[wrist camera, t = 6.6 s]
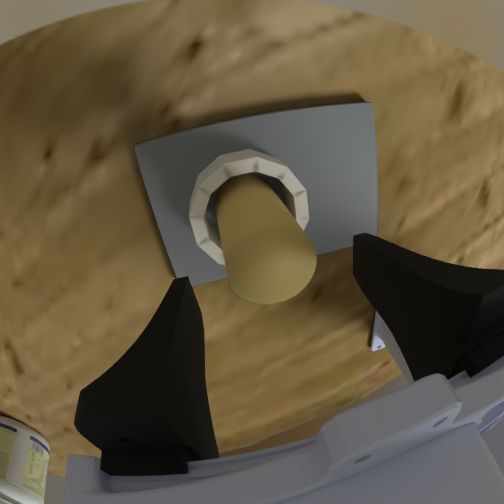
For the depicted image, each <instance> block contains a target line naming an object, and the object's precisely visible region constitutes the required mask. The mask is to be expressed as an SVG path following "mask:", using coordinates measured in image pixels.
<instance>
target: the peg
mask: <svg viewBox="0 0 504 504" xmlns="http://www.w3.org/2000/svg"><path fill="white" fill-rule="evenodd" d="M215 210H216V216H217V221H218V227H219V233H220V239H221V244H222V250H223V255H224V261H225V266H226V272H227V277H228V281H229V284H230V286H231V287H232V289H233V290H234V292H235V293H236V294H237V295H239V296H240V297H241V298H243V299H245V300H247V301H249V302H252V303H256V304H275V303H279V302H283V301H285V300H288V299H290V298H292V297H294V296H295V295H297V294H298V293H299V292H300V291H302V290H303V289H304V288H305V287H306V286H307V284H308V283H309V282H310V280H311V278H312V277H313V274H314V272H315V269H316V264H317V255H316V251H315V248H314V245H313V243H312V242H311V240H310V239H309V238H308V236H307V235H306V233H305V232H304V231H303V229H302V228H301V227H300V225H299V224H298V223H297V221H296V220H295V218H294V217H293V216H292V214H291V213H290V212H289V210H288V209H287V208H286V206H285V205H284V204H283V202H282V201H281V200H280V198H279V197H278V196H277V194H276V193H275V192H274V190H273V189H272V188H271V186H270V185H269V184H268V183H267V182H266V181H265V180H264V179H262V178H261V177H258V176H256V175H252V174H241V175H237V176H234V177H232V178H230V179H228V180H227V181H226V182H225V183H224V184H223V185H222V186H221V187H220V189H219V190H218V192H217V195H216V198H215Z"/></svg>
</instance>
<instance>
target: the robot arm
mask: <svg viewBox="0 0 504 504" xmlns="http://www.w3.org/2000/svg"><path fill="white" fill-rule="evenodd" d="M353 275H354V277H355V279H356V281H357V283H358V285H359V286H360V288H361V290H362V292H363V293H364V294H365V296H366V297H367V299H368V300H369V301H370V303H371V304H372V306H373V307H374V308H375V310H376V313H375V321H374V328H373V335H372V341H371V350H372V351H376V350H379V349H381V348H384V347H386V348H387V349H388V351H389V352H390V354H391V355H392V357H393V359H394V360H395V362H396V363H397V365H398V367H399V368H400V370H401V371H402V373H403V375H404V376H405V378H406V379H407V381H408V383H409V385H406V386H404V387H402V388H400V389H398V390H395V391H393V392H391V393H389V394H386V395H384V396H381V397H379V398H376V399H374V400H371V401H369V402H366V403H364V404H361V405H358V406H356V407H353V408H351V409H349V410H347V411H344V412H342V413H340V414H338V415H336V416H334V417H333V418H332V419H330V420H329V421H327V422H326V423H325V424H323V426H322V427H321V429H320V431H319V433H318V434H317V436H314V437H311V438H308V439H304V440H301V441H297V442H293V443H289V444H286V445H282V446H278V447H274V448H269V449H265V450H260V451H256V452H251V453H245V454H240V455H236V456H229V457H223V458H220V457H219V452H218V448H217V444H216V439H215V435H214V430H213V425H212V420H211V414H210V409H209V403H208V396H207V390H206V381H205V344H204V327H203V320H202V313H201V310H200V307H199V305H198V302H197V299H196V297H195V294H194V291H193V288H192V286H191V283H190V280H189V277H188V276H186V277H181V278H177V279H174V280H173V282H172V284H171V285H170V287H169V289H168V291H167V293H166V295H165V297H164V299H163V300H162V302H161V304H160V306H159V307H158V309H157V311H156V313H155V314H154V316H153V317H152V319H151V321H150V322H149V324H148V325H147V327H146V328H145V330H144V331H143V332H142V334H141V335H140V336H139V338H138V339H137V340H136V341H135V343H134V344H133V345H132V346H131V347H130V348H129V349H128V350H127V351H126V353H125V354H124V355H123V356H122V357H121V358H120V359H119V360H118V361H117V362H116V363H115V364H114V365H113V366H112V367H111V368H109V369H108V370H107V371H106V372H105V373H104V374H102V375H101V376H100V377H99V378H97V379H96V380H95V381H93V382H92V383H91V384H89V385H88V386H87V387H85V388H84V389H82V390H81V391H80V395H79V399H78V404H77V409H76V414H75V419H74V425H75V427H76V429H77V430H78V432H79V433H80V434H81V435H82V436H83V437H85V438H86V439H87V440H88V441H90V442H91V443H92V444H94V445H95V446H96V447H97V448H99V449H100V450H101V451H102V455H101V459H100V458H98V457H95V456H83V455H68V460H67V467H66V476H65V486H64V499H63V504H504V270H499V269H481V268H472V267H466V266H460V265H455V264H450V263H446V262H442V261H439V260H436V259H432V258H429V257H426V256H423V255H420V254H418V253H415V252H412V251H410V250H407V249H405V248H402V247H400V246H398V245H395V244H393V243H391V242H388V241H386V240H384V239H381V238H379V237H376V236H374V235H371V234H368V233H361V234H357V235H353Z"/></svg>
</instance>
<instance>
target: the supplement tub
mask: <svg viewBox="0 0 504 504" xmlns="http://www.w3.org/2000/svg"><path fill="white" fill-rule="evenodd" d="M49 453H50V447H49V444H48V442H47V440H46V439H45V438H44V437H43V436H42V435H41V434H39V433H38V432H37V431H35V430H34V429H32V428H30V427H28V426H27V425H25V424H23V423H21V422H19V421H16V420H14V419H11V418H8V417H4V416H0V504H44V492H45V483H46V474H47V467H48V460H49Z"/></svg>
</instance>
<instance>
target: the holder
mask: <svg viewBox="0 0 504 504" xmlns="http://www.w3.org/2000/svg"><path fill="white" fill-rule="evenodd" d="M134 150H135V153H136V157H137V160H138V164H139V167H140V170H141V174H142V177H143V180H144V184H145V187H146V190H147V193H148V196H149V200H150V203H151V206H152V209H153V212H154V215H155V218H156V221H157V224H158V227H159V230H160V233H161V236H162V239H163V241H164V244H165V247H166V250H167V253H168V255H169V258H170V261H171V264H172V266H173V269H174V272H175V274H176V277H177V278H181V277H186V276H188V277H189V280H190V283H191V286H196V285H200V284H204V283H208V282H212V281H217V280H221V279H225V278H228V277H227V272H226V266H225V261H224V255H223V250H222V244H221V239H220V233H219V227H218V221H217V216H216V210H215V198H216V195H217V192H218V190H219V189H220V187H221V186H222V185H223V184H224V183H225V182H226V181H227V180H228V179H230V178H232V177H234V176H237V175H241V174H252V175H256V176H258V177H261V178H262V179H264V180H265V181H266V182H267V183H268V184H269V185H270V186H271V188H272V189H273V190H274V192H275V193H276V194H277V196H278V197H279V198H280V200H281V201H282V202H283V204H284V205H285V206H286V208H287V209H288V210H289V212H290V213H291V214H292V216H293V217H294V218H295V220H296V221H297V223H298V224H299V225H300V227H301V228H302V229H303V231H304V232H305V233H306V235H307V236H308V238H309V239H310V240H311V242H312V243H313V245H314V248H315V251H316V255H321V254H325V253H329V252H333V251H337V250H341V249H344V248H348V247H352V246H353V235H357V234H361V233H368V234H371V235H374V236H376V237H377V219H378V175H377V147H376V130H375V117H374V106H373V103H372V102H352V103H339V104H328V105H319V106H310V107H302V108H294V109H287V110H280V111H274V112H268V113H262V114H256V115H251V116H245V117H240V118H235V119H230V120H225V121H221V122H216V123H212V124H207V125H203V126H199V127H195V128H191V129H187V130H183V131H179V132H175V133H172V134H168V135H164V136H161V137H157V138H154V139H150V140H147V141H144V142H141V143H137V144H136V145H135V146H134Z"/></svg>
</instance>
